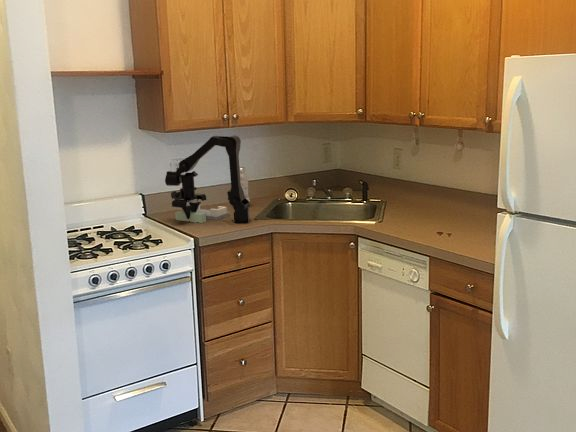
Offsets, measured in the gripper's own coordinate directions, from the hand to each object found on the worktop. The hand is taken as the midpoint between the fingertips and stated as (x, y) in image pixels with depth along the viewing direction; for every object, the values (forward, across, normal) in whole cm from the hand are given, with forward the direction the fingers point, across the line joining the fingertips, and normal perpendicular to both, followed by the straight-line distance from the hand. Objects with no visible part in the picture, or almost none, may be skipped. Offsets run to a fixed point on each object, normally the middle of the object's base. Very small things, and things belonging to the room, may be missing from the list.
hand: (190, 218), depth 311 cm
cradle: (+1, -11, 0) cm, 11 cm away
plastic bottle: (+1, -35, +6) cm, 36 cm away
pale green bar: (+1, 0, 0) cm, 1 cm away
